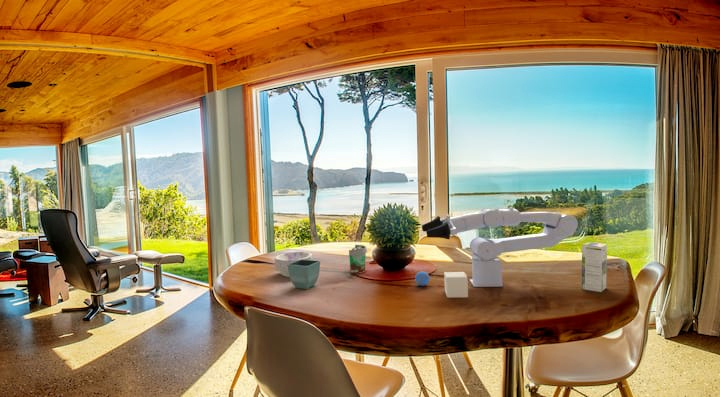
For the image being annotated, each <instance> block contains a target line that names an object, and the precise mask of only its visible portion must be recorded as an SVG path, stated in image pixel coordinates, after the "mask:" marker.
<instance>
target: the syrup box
mask: <svg viewBox="0 0 720 397" xmlns="http://www.w3.org/2000/svg"><path fill="white" fill-rule="evenodd" d="M581 246H582V247H581V249H582V250H581V289H582V290H585V291H592V292H598V293H602V292H603V291H605V290H606V289H607V281H608V279H607V275H608V272H607V271H608V245H607V244H606V243H600V242H590V241H589V242H586V243H584V244H582V245H581Z"/></svg>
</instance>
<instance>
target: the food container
mask: <svg viewBox="0 0 720 397" xmlns="http://www.w3.org/2000/svg"><path fill="white" fill-rule="evenodd" d="M367 253H368V249H367V246H365V245H362V244H355V245H354V247H353V248H352V249H349V250H348V257H349V271H350V275H356V274H355V273H359V272H363V271H365V272H366V261H367V260H366V259H367V258H366V256H367ZM363 273H364V272H363Z"/></svg>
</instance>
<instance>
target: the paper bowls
mask: <svg viewBox="0 0 720 397" xmlns="http://www.w3.org/2000/svg"><path fill="white" fill-rule="evenodd" d="M298 260H313V254H312V253H311V252H307V251H292V252H285V253H281V254H278V255H276V256H275V257H274V263H275V264H274V268H275V271H278V272H280V274H281V275H282V276H283V277H286V278H290V276H289V271H288V264H290V263H293V262H296V261H298Z"/></svg>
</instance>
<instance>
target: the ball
mask: <svg viewBox="0 0 720 397" xmlns="http://www.w3.org/2000/svg"><path fill="white" fill-rule="evenodd" d="M414 280H415V282H416V283H417V285H419V286H421V287H423V286H424V287H425V286H427V285H428V284H429V282H430V275H429V274H428V273H427V272H426V271H424V270H421V271H418V272H417V273H416V274H415V276H414Z"/></svg>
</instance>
